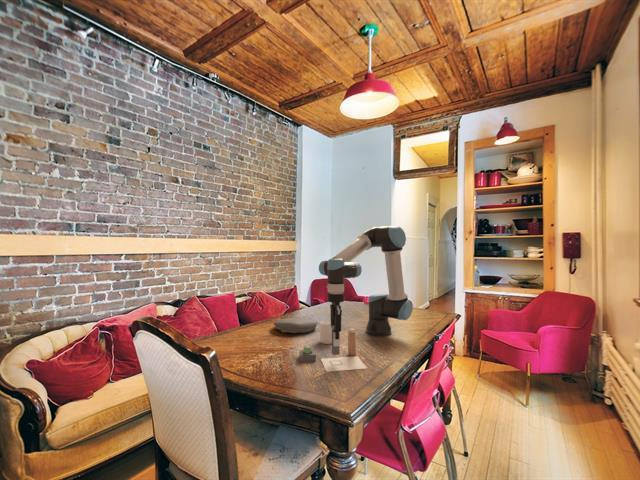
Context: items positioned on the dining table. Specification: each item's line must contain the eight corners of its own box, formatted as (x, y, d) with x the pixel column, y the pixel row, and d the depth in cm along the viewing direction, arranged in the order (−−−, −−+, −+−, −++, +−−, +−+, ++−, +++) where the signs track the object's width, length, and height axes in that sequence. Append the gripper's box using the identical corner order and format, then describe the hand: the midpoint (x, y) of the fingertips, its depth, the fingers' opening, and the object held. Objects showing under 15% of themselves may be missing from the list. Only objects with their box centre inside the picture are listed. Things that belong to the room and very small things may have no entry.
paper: (357, 356, 145) (357, 356, 145) (367, 368, 131) (367, 368, 131) (320, 359, 142) (320, 358, 142) (326, 372, 128) (326, 371, 128)
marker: (337, 351, 139) (337, 324, 139) (340, 354, 136) (340, 326, 136) (330, 352, 138) (330, 325, 138) (333, 355, 134) (333, 327, 135)
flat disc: (326, 327, 196) (326, 320, 196) (300, 338, 172) (300, 331, 172) (292, 322, 211) (292, 315, 211) (264, 331, 187) (264, 324, 188)
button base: (313, 355, 147) (313, 349, 147) (315, 361, 140) (315, 354, 140) (299, 356, 145) (299, 350, 146) (300, 362, 139) (300, 355, 139)
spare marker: (354, 353, 149) (354, 328, 149) (356, 356, 146) (356, 330, 146) (347, 353, 149) (347, 328, 149) (349, 356, 145) (349, 330, 145)
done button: (310, 353, 145) (310, 345, 145) (312, 356, 141) (312, 348, 141) (303, 354, 144) (303, 345, 144) (303, 357, 140) (303, 348, 140)
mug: (333, 347, 159) (333, 326, 159) (316, 342, 167) (316, 322, 167) (343, 342, 165) (343, 323, 165) (326, 338, 173) (326, 319, 173)
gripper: (324, 290, 144) (324, 339, 144) (331, 296, 128) (331, 351, 128) (339, 289, 146) (339, 338, 145) (348, 295, 130) (348, 350, 129)
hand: (335, 344), depth 137 cm, fingers closed on marker, 3 cm apart
